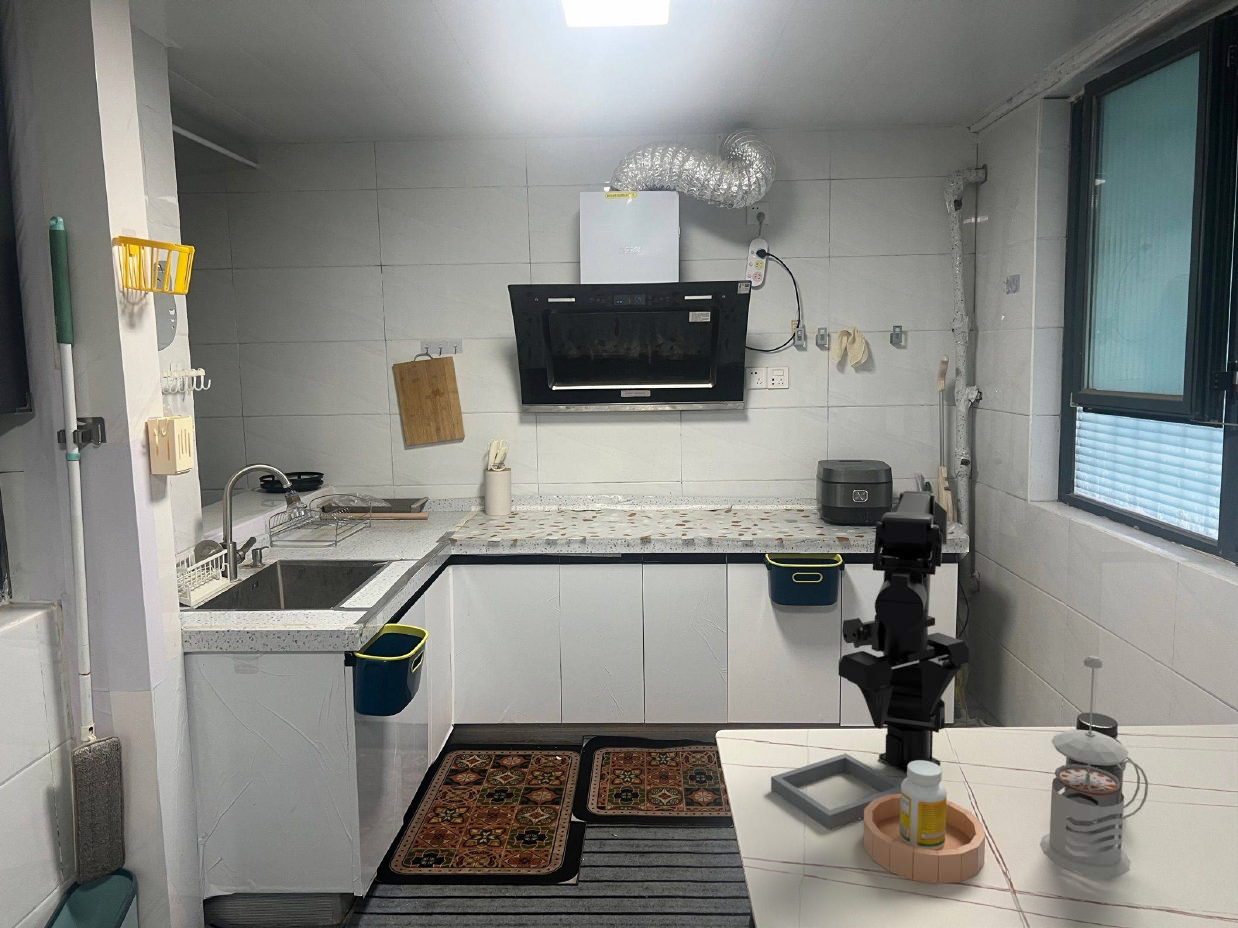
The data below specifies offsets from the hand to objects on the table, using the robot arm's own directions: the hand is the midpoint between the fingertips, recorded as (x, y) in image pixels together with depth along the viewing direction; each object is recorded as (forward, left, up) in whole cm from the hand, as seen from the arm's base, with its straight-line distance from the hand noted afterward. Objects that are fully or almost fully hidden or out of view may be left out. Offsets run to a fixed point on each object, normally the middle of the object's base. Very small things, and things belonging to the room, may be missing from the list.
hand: (903, 719), depth 115 cm
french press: (-11, +20, -12) cm, 26 cm away
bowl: (+6, +9, -12) cm, 16 cm away
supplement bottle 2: (-22, +13, -12) cm, 28 cm away
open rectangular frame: (+6, -6, -12) cm, 15 cm away
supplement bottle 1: (+6, +9, -11) cm, 15 cm away
